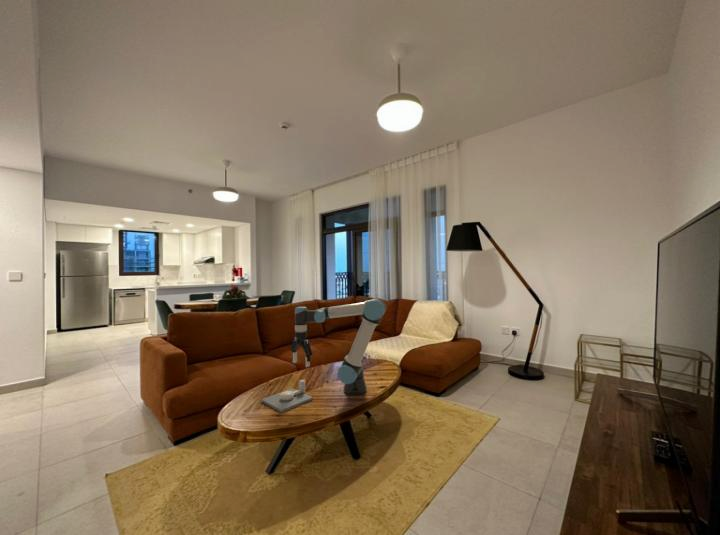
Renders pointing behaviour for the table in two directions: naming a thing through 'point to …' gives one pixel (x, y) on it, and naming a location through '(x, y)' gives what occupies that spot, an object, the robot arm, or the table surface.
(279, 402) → the lock base
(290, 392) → the locking lever
